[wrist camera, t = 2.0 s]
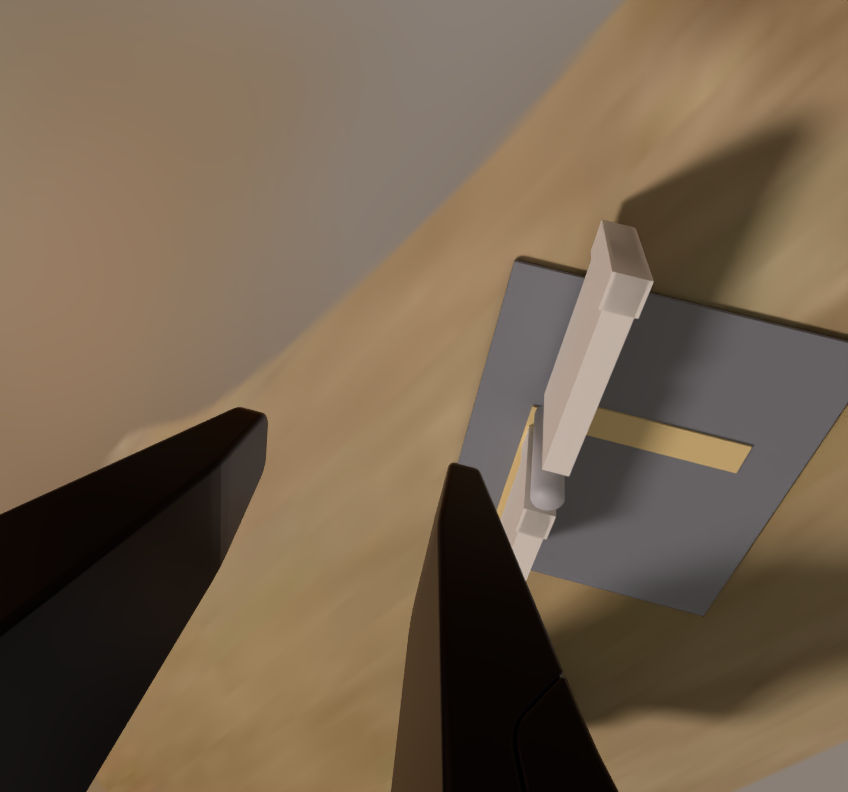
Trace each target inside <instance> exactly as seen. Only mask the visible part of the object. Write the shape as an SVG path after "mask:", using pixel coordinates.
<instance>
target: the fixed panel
mask: <svg viewBox="0 0 848 792" xmlns="http://www.w3.org/2000/svg"><path fill="white" fill-rule="evenodd" d="M533 433H534V426H530V425H529V427H528V430H527V433H526V436H525V438H524V441H523V444H522V449H521V462H520V465H519V468H518V471H517V473H516V476H515V479H514V482H513V485H512V488H511V491H510V493H509V496H508V499H507V502H506V505H505V508H504V511H503V513H502V516H501V519H500V520H501V523H502V525H503V528H504V530H505V532H506V535H507V537H508V540H509V542H510V544H511V547H512V549H513V552H514V554H515V556H516V559H517V561H518V564H519V566H520V569H521V571H522V573H523V576H524V578H525V581H526V580H527V577H528V575H529V572H530V570H531V568H532V565H533V563H534V560H535V558H536V555H537V553H538V551H539V548H540V546H541V543H542V541H543V539H546V540H547V537H548V535H549V532H550V530H551V528H552V525H553V523H554V520H555V518H556V509H555V510H551V511H546V510H541V509H539V508H537V507H535V506H534V505H533V504H532V502H531V499H530V490H531V471H532V452H533Z"/></svg>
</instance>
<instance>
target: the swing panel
mask: <svg viewBox="0 0 848 792" xmlns="http://www.w3.org/2000/svg"><path fill="white" fill-rule="evenodd" d="M653 282H654V281H653V278H652V275H651V272H650V269H649V266H648V263H647V260H646V257H645V254H644V251H643V248H642V245H641V242H640V239H639V236H638V234H637V231H636V228H635V227H631V226H627V225H622V224H618V223H614V222H610V221H606V220H601V223H600V226H599V229H598V232H597V235H596V238H595V241H594V243H593V246H592V249H591V262H590V265H589V268H588V271H587V274H586V276H585V279H584V282H583V285H582V288H581V291H580V294H579V296H578V299H577V302H576V305H575V308H574V311H573V314H572V316H571V319H570V322H569V325H568V328H567V331H566V334H565V336H564V339H563V342H562V345H561V348H560V351H559V354H558V356H557V359H556V362H555V365H554V368H553V371H552V374H551V376H550V379H549V382H548V385H547V388H546V391H545V394H544V404H543V405H541V406H539V407H538V408H537V409H536V411H535V415H534V433H533V452H532V471H531V490H530V499H531V502H532V504H533V505H534V506H535V507H537V508H539V509H541V510H546V511H551V510H555V509H558V508H559V507H561V506H562V505H563V503H564V501H565V481H564V475H565V476H569V475H570V473H571V470H572V468H573V466H574V463H575V461H576V458H577V456H578V453H579V451H580V449H581V446H582V444H583V441H584V439H585V436H586V434H587V432H588V429H589V427H590V424H591V422H592V419H593V417H594V415H595V412H596V410H597V407H598V405H599V402H600V400H601V398H602V395H603V393H604V390H605V388H606V385H607V383H608V381H609V378H610V376H611V373H612V371H613V368H614V366H615V364H616V361H617V359H618V356H619V354H620V351H621V349H622V347H623V344H624V342H625V339H626V337H627V334H628V332H629V330H630V327H631V325H632V322H633V320H634V318H636V319H639V316H640V314H641V311H642V309H643V306H644V304H645V302H646V299H647V297H648V294H649V292H650V290H651V287H652V285H653Z"/></svg>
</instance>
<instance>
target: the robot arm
mask: <svg viewBox="0 0 848 792" xmlns="http://www.w3.org/2000/svg"><path fill="white" fill-rule="evenodd" d="M267 430H268V420H267V417H266V415H265V414H264V413H262V412H258V411H254V410H250V409H246V408H242V407H237V408H234V409H231V410H229V411H227V412H225V413H222V414H220V415H218V416H216V417H214V418H211V419H209V420H207V421H205V422H203V423H200V424H198V425H196V426H194V427H192V428H189V429H187V430H185V431H183V432H181V433H178V434H176V435H174V436H172V437H170V438H167V439H165V440H163V441H161V442H159V443H156V444H154V445H152V446H150V447H148V448H145V449H143V450H141V451H139V452H137V453H134V454H132V455H130V456H128V457H126V458H123V459H121V460H119V461H117V462H115V463H112V464H110V465H108V466H106V467H103V468H101V469H99V470H97V471H95V472H92V473H90V474H88V475H86V476H84V477H82V478H79V479H77V480H75V481H73V482H70V483H68V484H66V485H64V486H62V487H59V488H57V489H55V490H53V491H51V492H48V493H46V494H44V495H42V496H40V497H38V498H35V499H33V500H31V501H29V502H26V503H24V504H22V505H20V506H18V507H15V508H13V509H11V510H9V511H7V512H4V513H2V514H0V792H86V791H87V790H88V788H89V786H90V785H91V783H92V781H93V780H94V778H95V776H96V775H97V773H98V771H99V770H100V768H101V766H102V765H103V763H104V761H105V760H106V758H107V756H108V755H109V753H110V751H111V750H112V748H113V746H114V745H115V743H116V741H117V740H118V738H119V736H120V735H121V733H122V731H123V730H124V728H125V726H126V725H127V723H128V721H129V720H130V718H131V716H132V715H133V713H134V711H135V710H136V708H137V706H138V705H139V703H140V701H141V700H142V698H143V696H144V695H145V693H146V691H147V690H148V688H149V686H150V685H151V683H152V681H153V680H154V678H155V676H156V675H157V673H158V671H159V670H160V668H161V666H162V665H163V663H164V661H165V660H166V658H167V656H168V655H169V653H170V651H171V649H172V648H173V646H174V644H175V643H176V641H177V639H178V638H179V636H180V634H181V633H182V631H183V629H184V628H185V626H186V624H187V623H188V621H189V619H190V618H191V616H192V614H193V613H194V611H195V609H196V608H197V606H198V604H199V603H200V601H201V599H202V598H203V596H204V594H205V593H206V591H207V589H208V588H209V586H210V584H211V583H212V581H213V579H214V577H215V576H216V574H217V572H218V570H219V568H220V567H221V564H222V562H223V560H224V558H225V556H226V554H227V552H228V549H229V547H230V545H231V543H232V541H233V538H234V536H235V534H236V532H237V529H238V527H239V525H240V523H241V520H242V518H243V516H244V514H245V512H246V509H247V507H248V505H249V503H250V500H251V498H252V496H253V494H254V491H255V489H256V487H257V485H258V482H259V480H260V478H261V476H262V473H263V470H264V466H265V461H266V447H267ZM562 675H563V670H562V667H561V665H560V663H559V660H558V658H557V655H556V653H555V651H554V648H553V646H552V643H551V641H550V638H549V636H548V634H547V631H546V629H545V626H544V624H543V622H542V619H541V617H540V614H539V612H538V610H537V607H536V605H535V602H534V600H533V597H532V595H531V593H530V590H529V588H528V585H527V583H526V581H525V578H524V576H523V573H522V571H521V569H520V566H519V564H518V561H517V559H516V556H515V554H514V552H513V549H512V547H511V544H510V542H509V540H508V537H507V535H506V532H505V530H504V528H503V525H502V523H501V520H500V518H499V515H498V513H497V511H496V508H495V506H494V503H493V501H492V499H491V496H490V494H489V491H488V489H487V486H486V484H485V482H484V479H483V477H482V474H481V472H480V471H479V470H478V469H477V468H474V467H470V466H466V465H462V464H458V463H451V464H450V465H449V467H448V470H447V474H446V477H445V481H444V485H443V488H442V492H441V496H440V500H439V503H438V507H437V511H436V515H435V519H434V523H433V527H432V531H431V535H430V539H429V543H428V548H427V552H426V556H425V560H424V564H423V568H422V572H421V576H420V581H419V585H418V589H417V593H416V597H415V601H414V606H413V611H412V616H411V621H410V628H409V635H408V644H407V653H406V662H405V671H404V680H403V689H402V698H401V707H400V716H399V725H398V734H397V743H396V752H395V761H394V770H393V779H392V788H391V792H618V790H617V788H616V786H615V784H614V782H613V780H612V778H611V776H610V774H609V772H608V770H607V768H606V766H605V765H604V763H603V761H602V759H601V757H600V755H599V753H598V750H597V748H596V746H595V744H594V742H593V739H592V737H591V735H590V733H589V730H588V728H587V726H586V724H585V722H584V719H583V717H582V715H581V713H580V710H579V708H578V706H577V703H576V701H575V698H574V696H573V693H572V691H571V689H570V686H569V684H568V681H567V679H566V678H565V677H562Z"/></svg>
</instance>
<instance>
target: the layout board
mask: <svg viewBox="0 0 848 792" xmlns="http://www.w3.org/2000/svg"><path fill="white" fill-rule="evenodd" d="M584 279H585V276H581V275H577V274H573V273H569V272H565V271H561V270H557V269H552V268H548V267H544V266H540V265H536V264H532V263H528V262H524V261H520V260H516V259H515V261H514V264H513V268H512V271H511V275H510V278H509V282H508V286H507V289H506V293H505V296H504V300H503V303H502V307H501V311H500V314H499V318H498V321H497V325H496V328H495V332H494V336H493V339H492V343H491V346H490V350H489V353H488V357H487V361H486V364H485V368H484V371H483V375H482V379H481V382H480V386H479V389H478V393H477V396H476V400H475V404H474V407H473V411H472V414H471V418H470V421H469V425H468V429H467V432H466V436H465V439H464V443H463V446H462V450H461V454H460V457H459V461H458V464H462V465H466V466H470V467H474V468H477V469H478V470H479V471H480V472H481V474H482V477H483V479H484V482H485V484H486V486H487V489H488V491H489V494H490V496H491V499H492V501H493V503H494V506H495V508H496V511H497V513H498V515H499V518H500V519H501V516H502V513H503V511H504V508H505V505H506V502H507V499H508V496H509V493H510V491H511V488H512V485H513V482H514V479H515V476H516V473H517V471H518V468H519V465H520V462H521V449H522V444H523V441H524V438H525V436H526V433H527V430H528V427H529V425H530V426H534V415H535V411H536V409H537V408H538V407H539V406H541V405H543V404H544V394H545V391H546V388H547V385H548V382H549V379H550V376H551V374H552V371H553V368H554V365H555V362H556V359H557V356H558V354H559V351H560V348H561V345H562V342H563V339H564V336H565V334H566V331H567V328H568V325H569V322H570V319H571V316H572V314H573V311H574V308H575V305H576V302H577V299H578V296H579V294H580V291H581V288H582V285H583V282H584ZM847 403H848V341H847V340H843V339H839V338H835V337H831V336H827V335H823V334H819V333H815V332H811V331H806V330H802V329H798V328H794V327H790V326H786V325H782V324H778V323H774V322H770V321H765V320H761V319H757V318H753V317H749V316H745V315H741V314H737V313H733V312H729V311H725V310H720V309H716V308H712V307H708V306H704V305H700V304H696V303H692V302H688V301H684V300H679V299H675V298H671V297H667V296H663V295H659V294H655V293H651V292H649V294H648V297H647V299H646V302H645V304H644V306H643V309H642V311H641V314H640V316H639V319H636V318H634V320H633V322H632V325H631V327H630V330H629V332H628V334H627V337H626V339H625V342H624V344H623V347H622V349H621V351H620V354H619V356H618V359H617V361H616V364H615V366H614V368H613V371H612V373H611V376H610V378H609V381H608V383H607V385H606V388H605V390H604V393H603V395H602V398H601V400H600V402H599V405H598V407H597V410H596V412H595V415H594V417H593V419H592V422H591V424H590V427H589V429H588V432H587V434H586V436H585V439H584V441H583V444H582V446H581V449H580V451H579V453H578V456H577V458H576V461H575V463H574V466H573V468H572V470H571V473H570V475H569V476H565V475H564V481H565V501H564V503H563V505H562V506H561V507H559V508H558V509H556V518H555V520H554V523H553V525H552V528H551V530H550V532H549V535H548V537H547V540H546V539H543V541H542V543H541V546H540V548H539V551H538V553H537V555H536V558H535V560H534V563H533V565H532V568H531V570H532V571H535V572H539V573H543V574H547V575H550V576H554V577H558V578H562V579H565V580H569V581H573V582H577V583H580V584H584V585H588V586H592V587H595V588H599V589H603V590H607V591H610V592H614V593H618V594H622V595H625V596H629V597H633V598H637V599H640V600H644V601H648V602H652V603H655V604H659V605H663V606H667V607H670V608H674V609H678V610H682V611H685V612H689V613H693V614H697V615H700V616H704V615H705V613H706V612H707V610H708V609H709V607H710V606H711V604H712V603H713V601H714V600H715V598H716V597H717V595H718V594H719V592H720V591H721V589H722V588H723V587H724V585H725V584H726V582H727V581H728V579H729V578H730V576H731V575H732V573H733V572H734V570H735V569H736V567H737V566H738V564H739V563H740V561H741V560H742V558H743V557H744V555H745V554H746V552H747V551H748V550H749V548H750V547H751V545H752V544H753V542H754V541H755V539H756V538H757V536H758V535H759V533H760V532H761V530H762V529H763V527H764V526H765V524H766V523H767V521H768V520H769V518H770V517H771V515H772V514H773V512H774V511H775V510H776V508H777V507H778V505H779V504H780V502H781V501H782V499H783V498H784V496H785V495H786V493H787V492H788V490H789V489H790V487H791V486H792V484H793V483H794V481H795V480H796V478H797V477H798V475H799V474H800V473H801V471H802V470H803V468H804V467H805V465H806V464H807V462H808V461H809V459H810V458H811V456H812V455H813V453H814V452H815V450H816V449H817V447H818V446H819V444H820V443H821V441H822V440H823V438H824V437H825V436H826V434H827V433H828V431H829V430H830V428H831V427H832V425H833V424H834V422H835V421H836V419H837V418H838V416H839V415H840V413H841V412H842V410H843V409H844V407H845V406H846V404H847Z"/></svg>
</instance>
